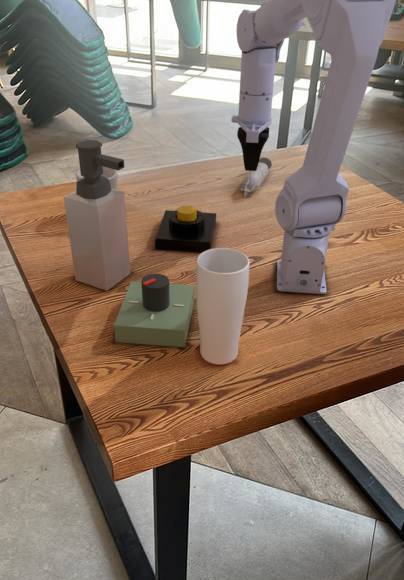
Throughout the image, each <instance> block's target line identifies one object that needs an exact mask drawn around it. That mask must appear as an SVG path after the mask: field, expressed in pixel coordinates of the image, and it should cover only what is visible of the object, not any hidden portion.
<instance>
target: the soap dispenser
mask: <svg viewBox="0 0 404 580" xmlns="http://www.w3.org/2000/svg"><path fill="white" fill-rule="evenodd" d="M102 147H103V142H101V141H99V140H96V139H95V140H94V139H85V140H82V141H79V142H77V143H76V144H75V148H76V149H77V153H78V162H79V170H80V172H81V176H83V177H84V178H82V179H81V180H79V181H78V182H77V181H76V186H75V188H76V189H75V190H74V191H72V192H70V193H68V194H66V195H64V196H63V201H64V209H65V216H66V224H67V229H68V236H69V244H70V250H71V257H72V264H73V270H74V278H75V279H74V280H75V281H78V282H81V283H83V284H86V285H89V286H93V287H95V288H98V289H100V290H103V291H109V290H110V289H111V288H113V287H114V286H116V285H117V284H118V283H119V282H121V281H122V280H124V279H125V278H126V277H128V276H129V275H131V262H130V251H129V249H130V248H129V237H128V235H129V234H128V223H127V210H126V209H127V208H126V196H125V195H126V194H125V190H121V189H118V188H117V189H113V188H111V186H110V182H109V179H107V178H105V177H103V176H101V175H102V174H103V167H107V168H110V169H114V170H116V171H120V170H122V169H125V159H124V158H121V157H120V158H119V157H115V156H110V155H106V154H102Z"/></svg>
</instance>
